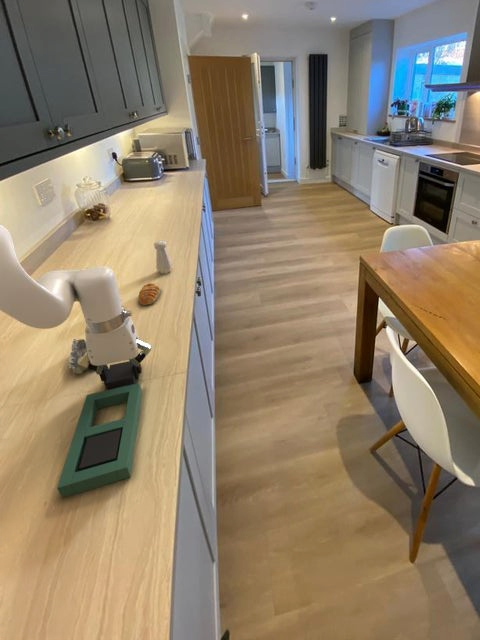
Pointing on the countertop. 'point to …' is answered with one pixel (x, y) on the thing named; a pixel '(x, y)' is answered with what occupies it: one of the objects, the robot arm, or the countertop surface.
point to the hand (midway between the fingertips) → (123, 377)
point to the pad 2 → (120, 375)
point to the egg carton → (77, 355)
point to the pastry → (149, 293)
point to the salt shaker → (162, 258)
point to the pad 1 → (101, 450)
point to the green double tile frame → (111, 471)
